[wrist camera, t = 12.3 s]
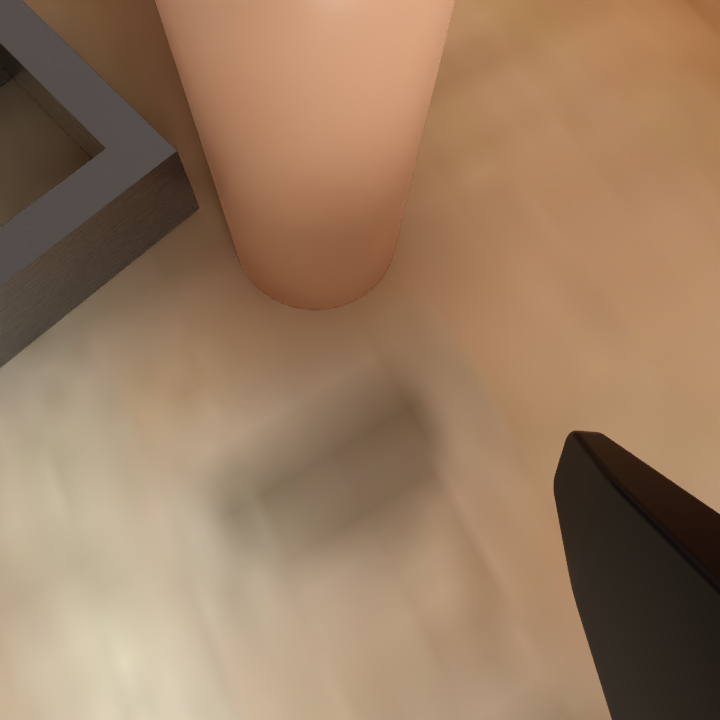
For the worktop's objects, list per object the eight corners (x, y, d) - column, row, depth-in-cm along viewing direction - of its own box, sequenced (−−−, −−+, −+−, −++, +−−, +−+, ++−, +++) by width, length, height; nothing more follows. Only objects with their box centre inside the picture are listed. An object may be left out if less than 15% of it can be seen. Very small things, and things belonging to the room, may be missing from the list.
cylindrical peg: (313, 342, 18) (268, -343, 4) (200, 231, 19) (-189, -688, 5) (428, 236, 19) (721, -602, 5) (317, 135, 20) (294, -848, 6)
